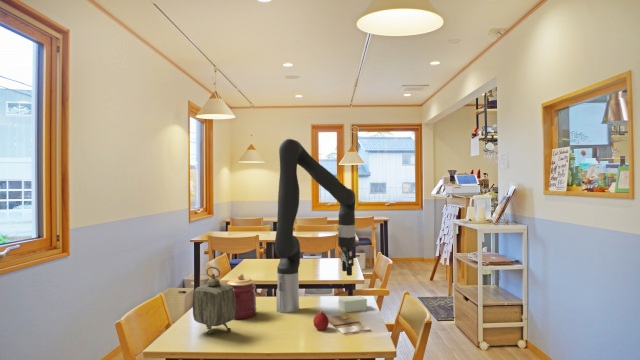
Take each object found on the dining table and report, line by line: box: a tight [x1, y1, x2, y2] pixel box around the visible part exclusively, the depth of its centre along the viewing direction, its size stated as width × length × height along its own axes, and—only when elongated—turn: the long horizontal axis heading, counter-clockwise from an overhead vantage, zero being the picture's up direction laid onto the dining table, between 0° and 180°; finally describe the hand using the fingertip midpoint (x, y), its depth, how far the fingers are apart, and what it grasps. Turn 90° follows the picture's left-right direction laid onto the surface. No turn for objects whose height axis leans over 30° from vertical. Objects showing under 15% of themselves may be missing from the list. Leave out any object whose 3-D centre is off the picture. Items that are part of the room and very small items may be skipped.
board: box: [327, 314, 373, 337], centre depth 170 cm, size 11×22×1 cm, turn 21°
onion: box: [312, 310, 330, 331], centre depth 165 cm, size 6×6×8 cm
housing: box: [338, 295, 368, 313], centre depth 190 cm, size 11×6×6 cm, turn 111°
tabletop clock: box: [192, 266, 235, 335], centre depth 166 cm, size 14×9×25 cm, turn 59°
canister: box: [226, 273, 257, 320], centre depth 187 cm, size 13×13×18 cm
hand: (347, 273), depth 185 cm, fingers open, 8 cm apart
